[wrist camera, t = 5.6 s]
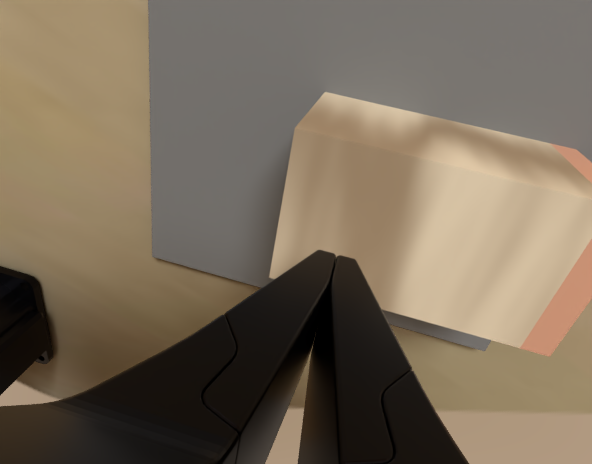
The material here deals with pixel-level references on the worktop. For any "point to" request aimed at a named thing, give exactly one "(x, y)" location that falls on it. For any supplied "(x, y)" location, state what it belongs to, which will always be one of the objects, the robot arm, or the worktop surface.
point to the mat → (342, 81)
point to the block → (443, 219)
